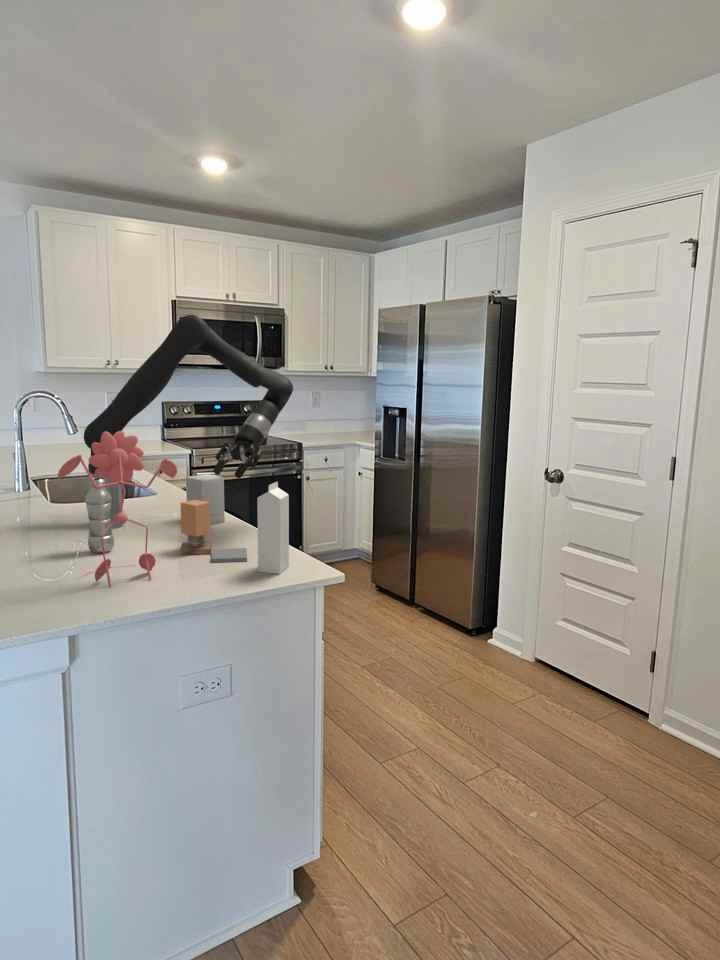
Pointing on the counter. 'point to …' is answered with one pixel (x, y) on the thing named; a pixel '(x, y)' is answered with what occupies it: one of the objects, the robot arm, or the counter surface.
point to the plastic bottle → (99, 517)
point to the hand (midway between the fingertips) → (226, 474)
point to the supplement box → (208, 494)
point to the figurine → (118, 481)
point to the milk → (273, 530)
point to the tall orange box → (195, 518)
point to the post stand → (196, 546)
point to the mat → (229, 555)
